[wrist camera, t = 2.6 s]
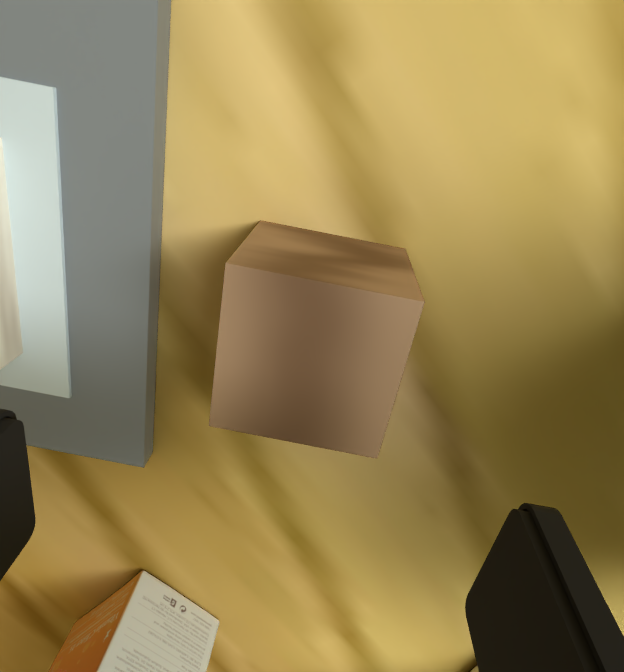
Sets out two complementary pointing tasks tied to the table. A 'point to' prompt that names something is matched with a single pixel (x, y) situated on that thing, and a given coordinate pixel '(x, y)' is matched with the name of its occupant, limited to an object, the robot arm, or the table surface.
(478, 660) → the robot arm
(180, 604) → the small box
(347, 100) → the table surface
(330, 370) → the walnut cube
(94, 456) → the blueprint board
